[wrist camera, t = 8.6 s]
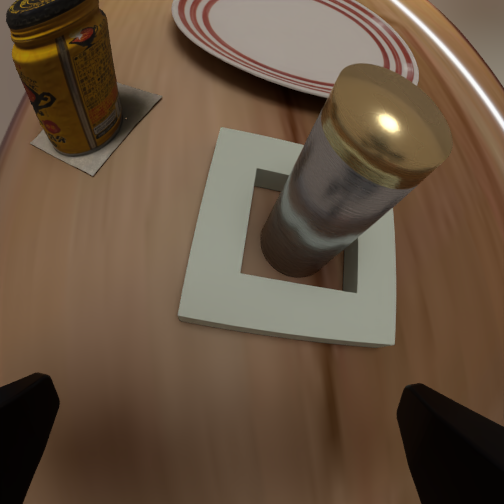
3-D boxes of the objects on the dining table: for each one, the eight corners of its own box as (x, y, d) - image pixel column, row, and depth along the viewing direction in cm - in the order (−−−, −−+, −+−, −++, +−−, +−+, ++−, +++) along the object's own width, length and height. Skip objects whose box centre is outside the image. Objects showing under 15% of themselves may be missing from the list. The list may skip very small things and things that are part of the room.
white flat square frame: (376, 347, 18) (394, 344, 16) (179, 320, 17) (177, 315, 15) (376, 184, 23) (389, 170, 21) (218, 145, 21) (220, 127, 19)
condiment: (30, 144, 19) (-27, 24, 8) (97, 77, 22) (78, -41, 11) (93, 178, 19) (38, 26, 8) (163, 99, 22) (162, -40, 11)
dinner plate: (425, 64, 33) (437, 48, 30) (360, 177, 23) (380, 152, 20) (264, -22, 35) (268, -38, 32) (117, 37, 25) (114, 12, 22)
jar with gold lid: (336, 270, 20) (471, 165, 8) (269, 283, 19) (373, 162, 7) (317, 208, 21) (415, 73, 10) (253, 214, 20) (318, 56, 9)
